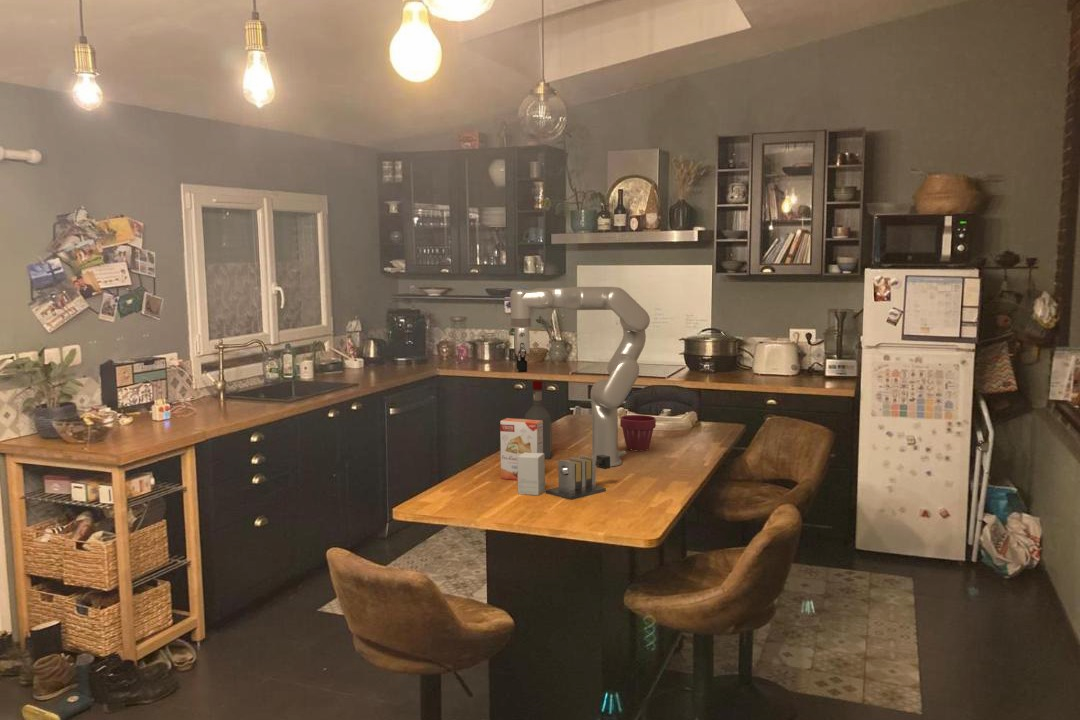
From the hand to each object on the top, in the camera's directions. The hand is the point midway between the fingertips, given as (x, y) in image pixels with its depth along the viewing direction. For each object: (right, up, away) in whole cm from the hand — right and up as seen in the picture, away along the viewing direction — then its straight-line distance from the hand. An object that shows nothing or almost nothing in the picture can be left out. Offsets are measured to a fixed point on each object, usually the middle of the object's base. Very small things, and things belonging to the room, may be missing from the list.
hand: (521, 370), depth 324 cm
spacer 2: (+20, -35, -29) cm, 50 cm away
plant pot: (+46, -32, +36) cm, 67 cm away
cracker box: (0, -38, -12) cm, 40 cm away
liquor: (+6, -34, +21) cm, 41 cm away
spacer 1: (+17, -35, -33) cm, 51 cm away
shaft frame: (+18, -40, -31) cm, 54 cm away
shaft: (+21, -33, -29) cm, 49 cm away
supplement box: (+4, -40, -31) cm, 51 cm away
